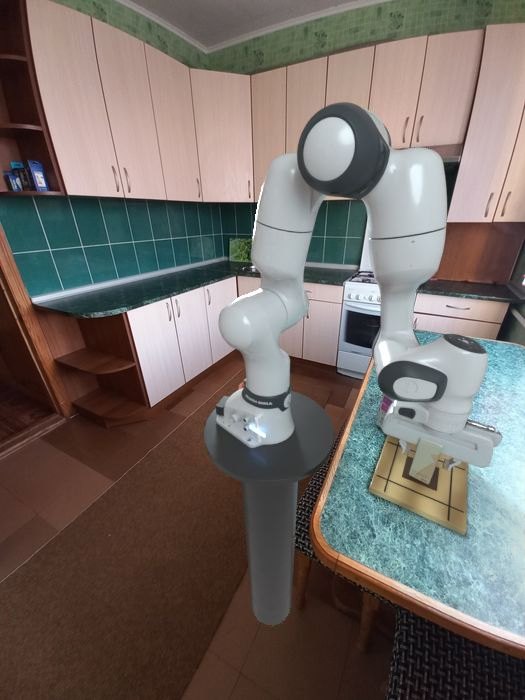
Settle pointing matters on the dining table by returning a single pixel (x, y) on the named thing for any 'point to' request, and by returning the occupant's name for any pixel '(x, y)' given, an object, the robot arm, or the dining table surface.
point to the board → (422, 487)
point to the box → (425, 460)
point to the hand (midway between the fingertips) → (425, 460)
